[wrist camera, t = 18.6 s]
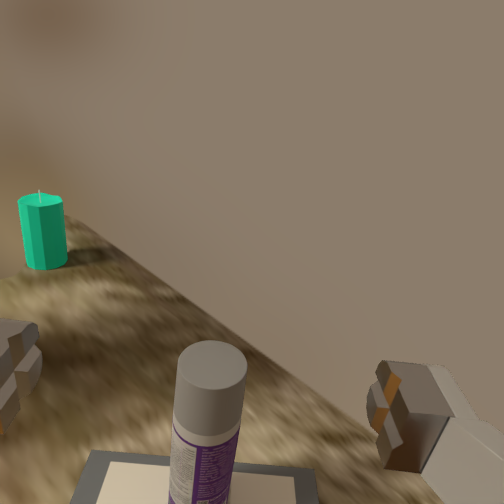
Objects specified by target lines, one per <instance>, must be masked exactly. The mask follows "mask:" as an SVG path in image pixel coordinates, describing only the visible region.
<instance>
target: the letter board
mask: <svg viewBox="0 0 504 504" xmlns="http://www.w3.org/2000/svg"><path fill="white" fill-rule="evenodd" d="M170 459H171V457H169V456H158V455H146V454H135V453H123V452H112V451H100V450H91V452H90V455H89V457H88V460H87V462H86V465H85V467H84V470H83V472H82V474H81V477H80V479H79V482H78V484H77V487H76V489H75V492H74V494H73V496H72V499H71V501H70V504H168V496H169V477H170ZM227 504H319V499H318V493H317V486H316V479H315V472H314V469H307V468H295V467H284V466H272V465H261V464H249V463H238V462H234V465H233V471H232V477H231V483H230V489H229V495H228V501H227Z"/></svg>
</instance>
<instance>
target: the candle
mask: <svg viewBox="0 0 504 504" xmlns="http://www.w3.org/2000/svg"><path fill="white" fill-rule="evenodd" d="M18 208H19V214H20V222H21V229H22V236H23V242H24V249H25V256H26V262H27V265H28V267H31V268H33V269H38V270H49V269H55V268H58V267H60V266H62V265H64V264H65V263H66V262H67V260H68V256H67V245H66V234H65V223H64V211H63V202H62V199H61V198H60V196H53V195H49V194H45V193H40V190H39V193H36V194H30V195H26V196H23V197H21V198H20V199H19V200H18Z"/></svg>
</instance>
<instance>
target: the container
mask: <svg viewBox="0 0 504 504" xmlns="http://www.w3.org/2000/svg"><path fill="white" fill-rule="evenodd" d="M247 367H248V366H247V361H246V358H245V356H244V355H243V353H242V352H241V351H240V350H239V349H237V348H236V347H234V346H233V345H230V344H228V343H225V342H221V341H214V340H207V341H201V342H197V343H194V344H192V345H190V346H188V347H187V348H186V349H185V350H184V351H183V352H182V353H181V355H180V356H179V359H178V366H177V377H176V388H175V399H174V409H173V421H172V440H171V459H170V477H169V496H168V504H227V501H228V495H229V489H230V483H231V477H232V471H233V465H234V459H235V453H236V447H237V441H238V435H239V429H240V423H241V415H242V407H243V399H244V391H245V383H246V375H247Z"/></svg>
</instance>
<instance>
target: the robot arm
mask: <svg viewBox="0 0 504 504" xmlns="http://www.w3.org/2000/svg"><path fill="white" fill-rule="evenodd" d="M38 338H39V332H38V326H37V325H36V324H35V323H33V322H26V321H18V320H11V319H3V318H0V434H4V433H5V432H6V430H7V429H8V427H9V426H10V424H11V423H12V421H13V420H14V418H15V416H16V415H17V413H18V412H19V410H20V403H19V400H20V399H21V398H23V397H25V396H27V395H28V394H30V393H31V392H32V390H33V389H34V387H35V386H36V384H37V382H38V379H39V376H40V373H41V370H42V352H41V351H40V350H39V349H38V348H37V347H36V346H35V342H36V341H37V340H38ZM376 375H377V378H378V381H377V382H376V383H374V384H373V385H371V386H370V389H369V392H368V396H367V407H366V408H367V416H368V420H369V423H370V426H371V427H372V428H373V429H374V430H375V431H376V432H377V433H378V434H379V435H378V438H377V440H376V446H377V449H378V452H379V455H380V458H381V461H382V464H383V467H384V469H387V470H395V471H403V472H412V473H420V474H421V475H420V476H421V477H422V478H423V479H424V480H425V481H426V483H427V484H428V485H429V486H430V487H431V488H432V490H433V491H434V492H435V493H436V494H437V495H438V497H439V498H440V499H441V500H442V501H443V502H444V504H504V434H503V433H502V432H500V431H499V430H498V429H497V428H495V427H494V426H493V425H491V424H490V423H489V422H487V421H482V420H480V419H479V418H478V416H477V415H476V413H475V411H474V410H473V408H472V407H471V405H470V403H469V402H468V400H467V399H466V397H465V395H464V394H463V392H462V390H461V389H460V387H459V386H458V384H457V383H456V381H455V379H454V378H453V376H452V374H451V373H450V371H449V370H448V369H447V368H446V367H445V366H442V365H429V364H414V363H404V362H395V361H385V360H384V361H383V360H382V361H381V362H380V363H379V365H378V367H377V370H376Z"/></svg>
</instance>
